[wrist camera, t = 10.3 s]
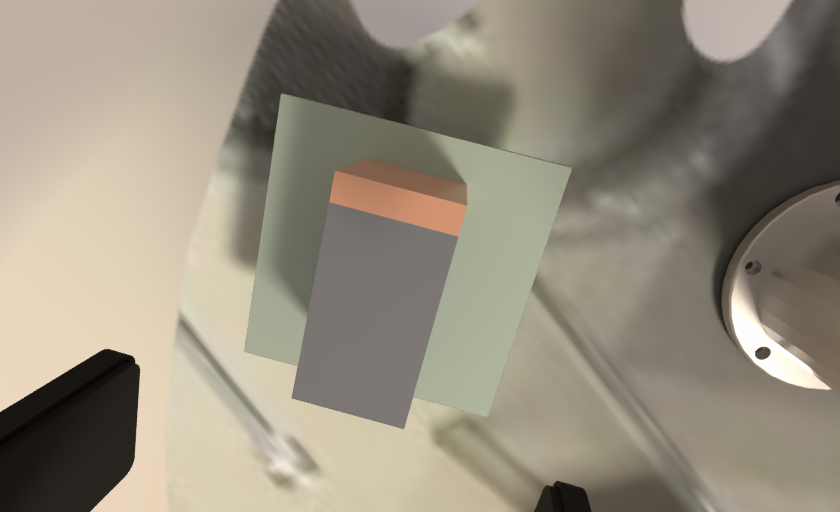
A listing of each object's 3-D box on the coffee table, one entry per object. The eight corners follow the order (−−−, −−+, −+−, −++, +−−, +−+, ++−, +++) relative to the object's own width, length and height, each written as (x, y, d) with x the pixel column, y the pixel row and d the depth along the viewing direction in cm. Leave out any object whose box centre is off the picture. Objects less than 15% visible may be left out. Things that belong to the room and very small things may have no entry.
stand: (551, 158, 27) (572, 168, 22) (483, 366, 31) (487, 417, 26) (316, 98, 27) (280, 93, 22) (281, 312, 31) (244, 351, 26)
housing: (416, 363, 25) (403, 429, 20) (327, 340, 25) (291, 398, 20) (466, 184, 22) (467, 205, 17) (365, 158, 22) (335, 170, 17)
